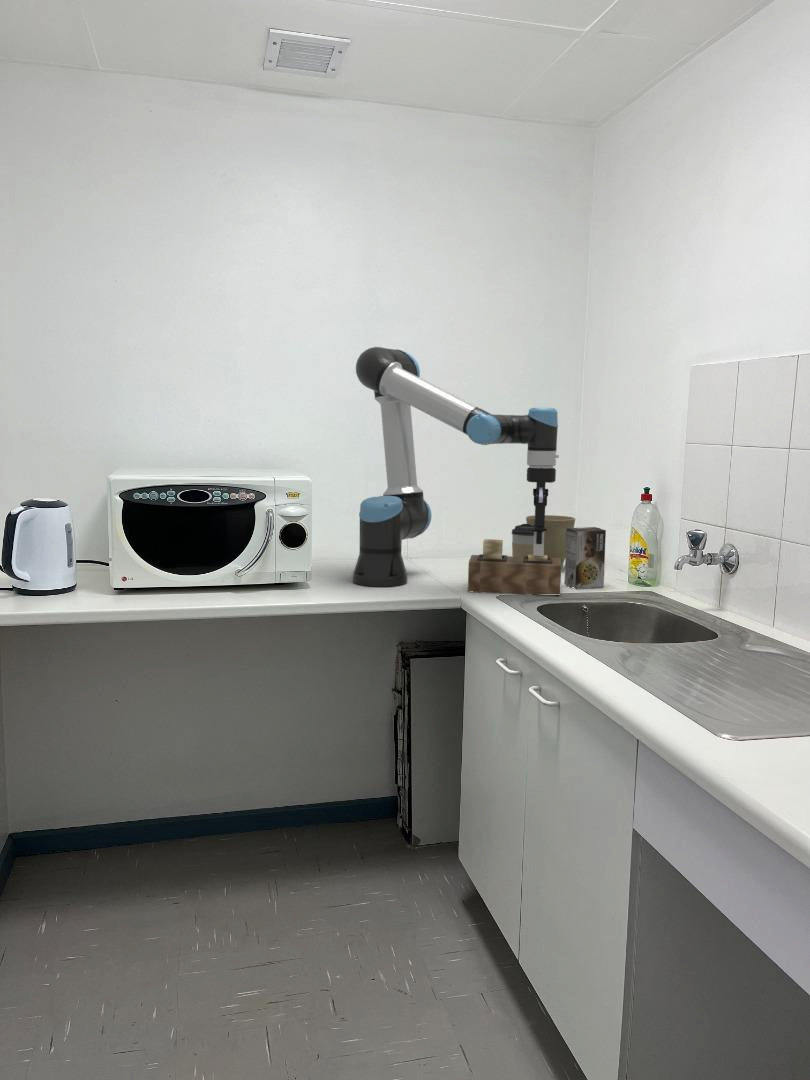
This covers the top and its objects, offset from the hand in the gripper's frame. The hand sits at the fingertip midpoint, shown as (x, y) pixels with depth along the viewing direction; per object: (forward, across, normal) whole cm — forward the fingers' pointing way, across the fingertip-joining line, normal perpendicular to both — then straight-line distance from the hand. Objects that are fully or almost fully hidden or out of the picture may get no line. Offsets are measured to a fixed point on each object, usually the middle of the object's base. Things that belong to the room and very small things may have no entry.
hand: (538, 555), depth 220 cm
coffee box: (+10, +9, -13) cm, 19 cm away
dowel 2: (+7, 0, 0) cm, 7 cm away
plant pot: (+10, +35, -4) cm, 37 cm away
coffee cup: (+10, +21, +3) cm, 23 cm away
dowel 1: (+3, 0, +12) cm, 13 cm away
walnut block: (+10, 0, +6) cm, 11 cm away
